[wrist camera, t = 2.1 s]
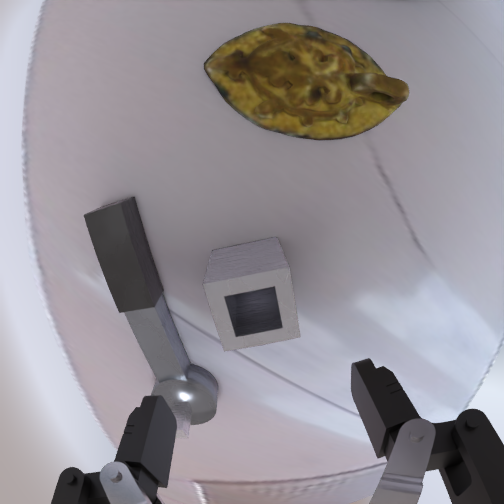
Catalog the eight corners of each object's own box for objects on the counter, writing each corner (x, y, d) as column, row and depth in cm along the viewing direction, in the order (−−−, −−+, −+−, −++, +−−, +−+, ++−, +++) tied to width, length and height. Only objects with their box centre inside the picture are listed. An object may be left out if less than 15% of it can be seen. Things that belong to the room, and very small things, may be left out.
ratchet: (225, 401, 27) (223, 449, 21) (170, 406, 28) (160, 451, 21) (152, 191, 20) (118, 207, 14) (85, 212, 20) (39, 234, 14)
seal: (203, 131, 20) (387, 150, 21) (191, 134, 16) (416, 159, 16) (210, 22, 16) (394, 49, 17) (201, -1, 12) (423, 39, 12)
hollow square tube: (212, 250, 22) (202, 284, 16) (276, 236, 22) (289, 266, 16) (227, 306, 23) (224, 351, 18) (287, 294, 23) (300, 336, 18)
